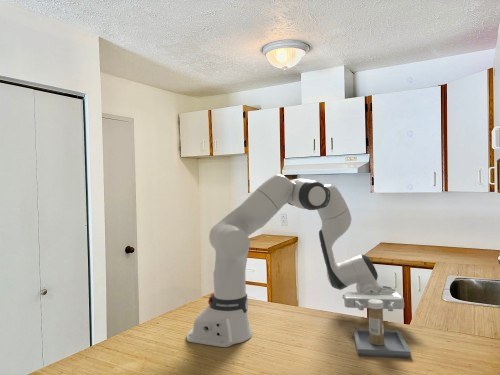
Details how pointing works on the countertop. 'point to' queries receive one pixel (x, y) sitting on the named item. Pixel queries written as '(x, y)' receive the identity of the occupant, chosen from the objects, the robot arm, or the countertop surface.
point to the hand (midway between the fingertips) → (376, 308)
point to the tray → (390, 348)
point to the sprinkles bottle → (376, 322)
